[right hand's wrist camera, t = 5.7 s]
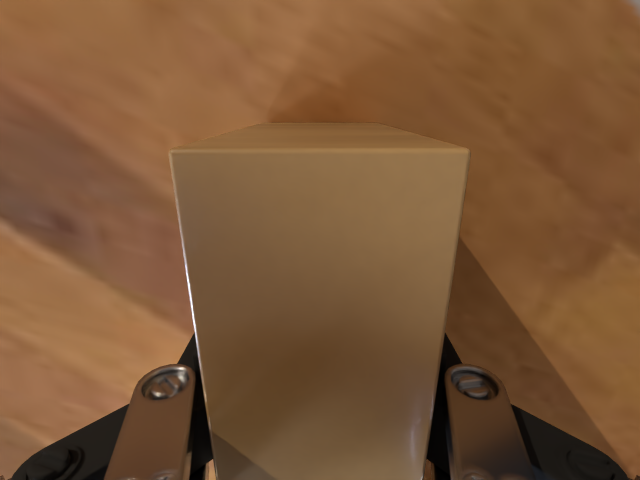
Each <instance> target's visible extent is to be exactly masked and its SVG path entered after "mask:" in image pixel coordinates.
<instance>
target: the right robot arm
mask: <svg viewBox="0 0 640 480" xmlns="http://www.w3.org/2000/svg"><path fill="white" fill-rule="evenodd" d="M212 459H213V454H212V447H211V440H210V433H209V427H208V420H207V413H206V406H205V399H204V392H203V386H202V379H201V372H200V365H199V358H198V351H197V345H196V338H195V333H194V334H193V336H192V338H191V340H190V342H189V343H188V345H187V347H186V349H185V351H184V353H183V354H182V356H181V358H180V360H179V362H178V363H177V364H170V365H165V366H161V367H159V368H156V369H154V370H152V371H150V372H149V373H147V374H146V375H144V376H143V377H142V378H141V379H140V380H139V381H138V383H137V385H136V387H135V389H134V392H133V395H132V398H131V401H130V404H128V405H126V406H124V407H122V408H120V409H118V410H116V411H114V412H112V413H111V414H109V415H107V416H105V417H103V418H101V419H99V420H97V421H95V422H93V423H91V424H89V425H88V426H86V427H84V428H82V429H80V430H78V431H76V432H74V433H72V434H70V435H68V436H66V437H65V438H63V439H61V440H59V441H57V442H55V443H53V444H51V445H49V446H47V447H45V448H44V449H42V450H40V451H39V452H37V453H36V454H34V455H32V456H31V457H30V458H29V459H28V460H26V461H25V462H24V463H23V464H22V465H21V466H20V467H19V468H18V470H17V471H16V472H15V473H14V474H13V476H12V478H10V479H8V480H209V461H211V460H212ZM426 459H428V460H429V461H431V480H632V479H630V478H628V477H627V475H626V474H625V472H624V471H623V470H622V469H621V468H620V466H619V465H618V464H617V463H616V462H614V461H613V460H612V459H611V458H610V457H609V456H607V455H606V454H604V453H603V452H601V451H599V450H598V449H596V448H594V447H592V446H591V445H589V444H587V443H585V442H583V441H581V440H579V439H577V438H575V437H573V436H571V435H569V434H568V433H566V432H564V431H562V430H560V429H558V428H556V427H554V426H552V425H550V424H548V423H546V422H545V421H543V420H541V419H539V418H537V417H535V416H533V415H531V414H529V413H527V412H525V411H523V410H522V409H520V408H518V407H516V406H514V405H512V404H510V401H509V398H508V395H507V392H506V389H505V387H504V385H503V383H502V381H501V380H500V379H499V378H498V377H497V376H496V375H494V374H493V373H491V372H490V371H488V370H486V369H483V368H481V367H479V366H475V365H470V364H462V362H461V360H460V358H459V357H458V355H457V353H456V351H455V349H454V348H453V346H452V344H451V342H450V340H449V339H448V337H447V335H446V333H445V335H444V342H443V348H442V355H441V362H440V369H439V376H438V383H437V390H436V396H435V403H434V410H433V417H432V424H431V431H430V438H429V444H428V451H427V458H426ZM0 480H5V479H4V476H3V475H2V476H0ZM635 480H640V476H638V475H637V476H636V478H635Z"/></svg>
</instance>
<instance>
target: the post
mask: <svg viewBox="0 0 640 480" xmlns="http://www.w3.org/2000/svg"><path fill="white" fill-rule="evenodd" d="M470 156H471V153H470V150H469V149H467V148H465V147H461V146H458V145H454V144H451V143H447V142H444V141H440V140H437V139H433V138H429V137H426V136H422V135H419V134H415V133H412V132H408V131H405V130H401V129H397V128H394V127H390V126H387V125H383V124H380V123H260V124H256V125H253V126H249V127H246V128H242V129H239V130H235V131H232V132H228V133H224V134H221V135H217V136H214V137H210V138H207V139H203V140H199V141H196V142H192V143H189V144H185V145H182V146H178V147H175V148H172V149H170V151H169V160H170V167H171V174H172V181H173V188H174V194H175V201H176V208H177V215H178V222H179V229H180V235H181V242H182V249H183V256H184V263H185V269H186V276H187V283H188V290H189V297H190V304H191V310H192V317H193V324H194V331H195V338H196V345H197V351H198V358H199V365H200V372H201V379H202V386H203V392H204V399H205V406H206V413H207V420H208V427H209V433H210V440H211V447H212V454H213V461H214V468H215V474H216V480H423V479H424V472H425V465H426V458H427V451H428V444H429V438H430V431H431V424H432V417H433V410H434V403H435V396H436V390H437V383H438V376H439V369H440V362H441V355H442V348H443V342H444V335H445V328H446V321H447V314H448V307H449V300H450V294H451V287H452V280H453V273H454V266H455V259H456V252H457V246H458V239H459V232H460V225H461V218H462V211H463V204H464V198H465V191H466V184H467V177H468V170H469V163H470Z"/></svg>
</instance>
